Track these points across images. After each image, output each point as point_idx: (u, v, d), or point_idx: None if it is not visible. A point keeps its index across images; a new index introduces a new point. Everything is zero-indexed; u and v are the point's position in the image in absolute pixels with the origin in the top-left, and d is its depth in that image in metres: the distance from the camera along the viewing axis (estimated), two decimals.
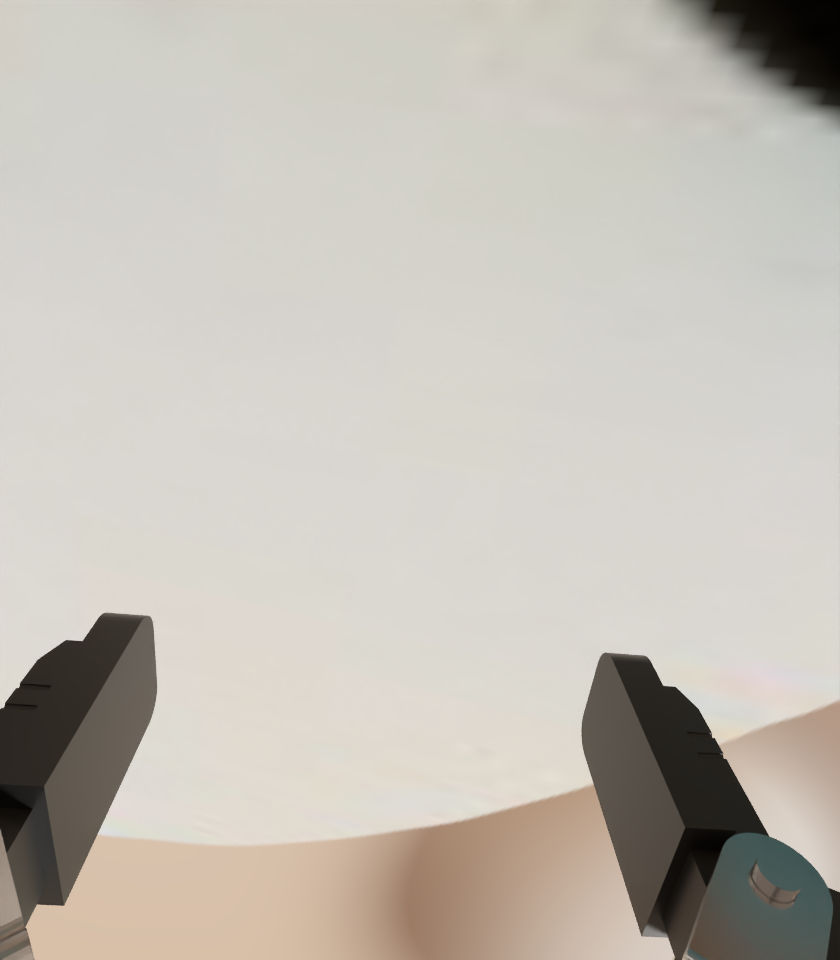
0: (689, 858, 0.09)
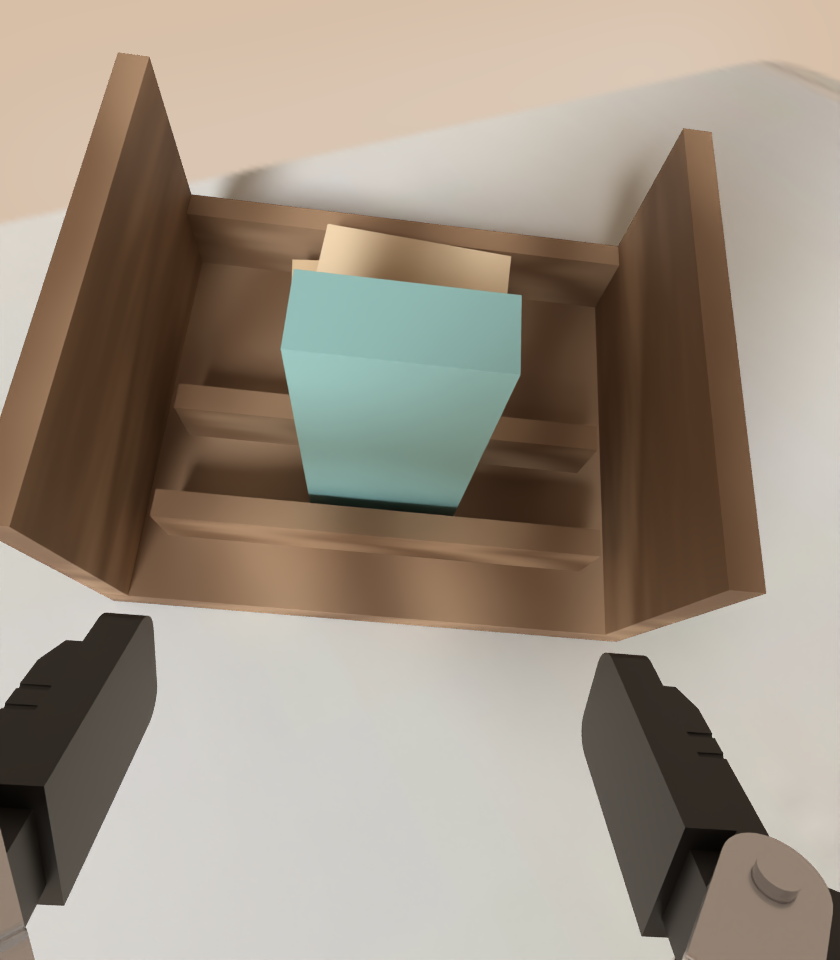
0: (689, 859, 0.09)
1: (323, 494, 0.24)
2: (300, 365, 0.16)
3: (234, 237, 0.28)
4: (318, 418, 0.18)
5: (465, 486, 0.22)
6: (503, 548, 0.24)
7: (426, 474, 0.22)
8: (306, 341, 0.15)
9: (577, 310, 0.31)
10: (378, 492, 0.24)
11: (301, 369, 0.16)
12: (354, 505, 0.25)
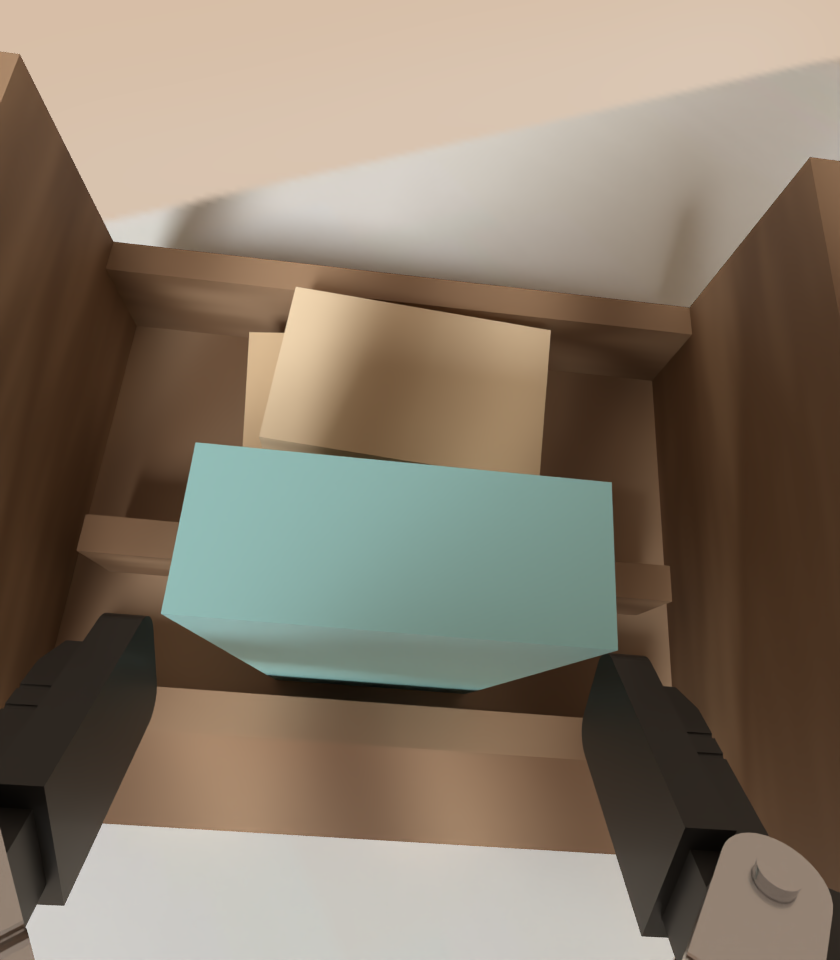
0: (689, 859, 0.09)
1: (287, 676, 0.17)
2: (206, 623, 0.08)
3: (175, 297, 0.21)
4: (259, 649, 0.11)
5: (492, 685, 0.15)
6: (545, 756, 0.17)
7: (435, 678, 0.14)
8: (210, 594, 0.08)
9: (629, 385, 0.23)
10: (364, 679, 0.16)
11: (210, 626, 0.09)
12: (333, 681, 0.18)
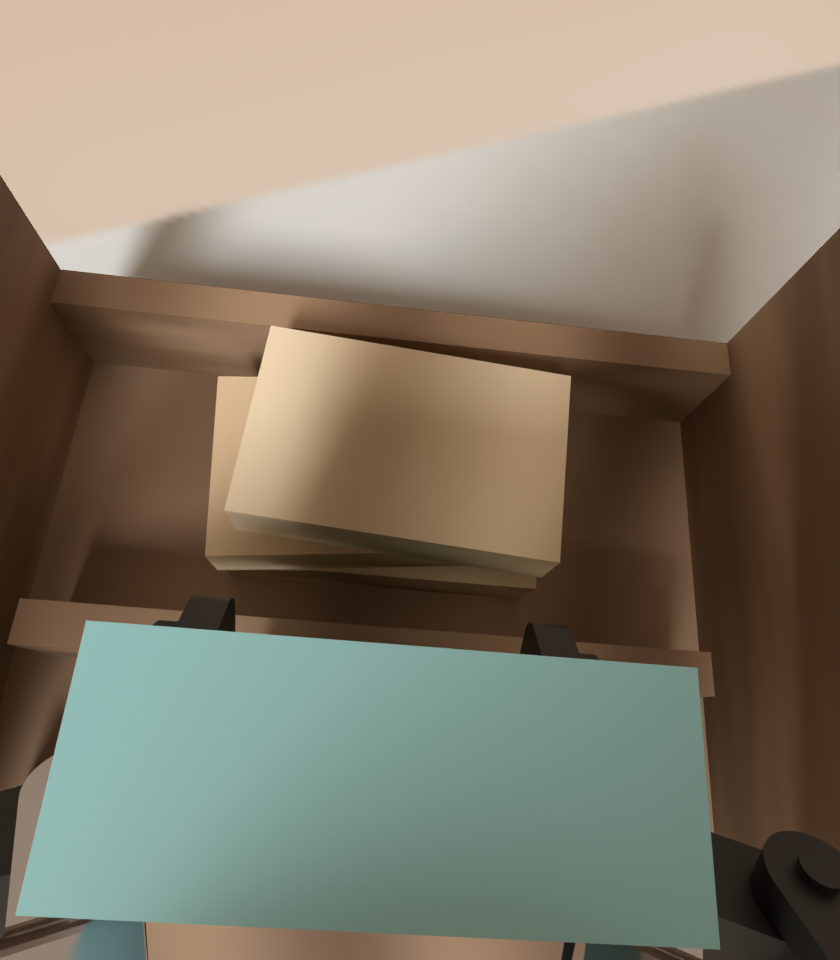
0: None
1: None
2: None
3: (134, 333, 0.18)
4: None
5: None
6: None
7: None
8: (98, 878, 0.05)
9: (654, 427, 0.21)
10: None
11: None
12: None
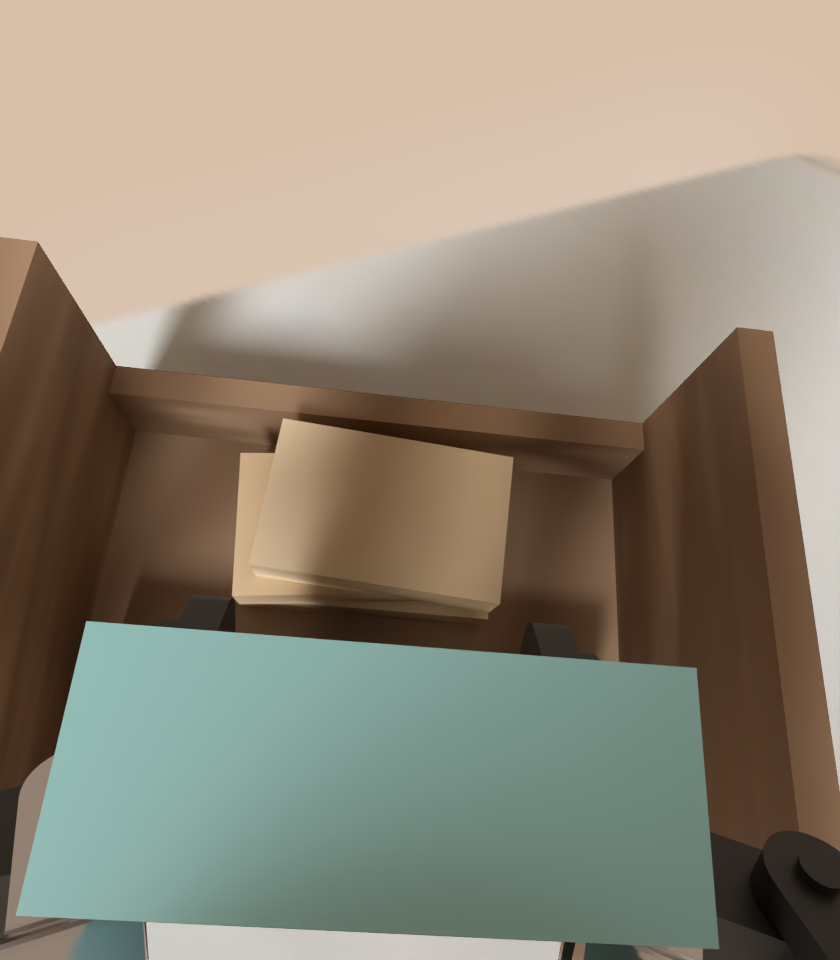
0: None
1: None
2: None
3: (172, 413, 0.23)
4: None
5: None
6: None
7: None
8: (98, 878, 0.05)
9: (590, 484, 0.26)
10: None
11: None
12: None
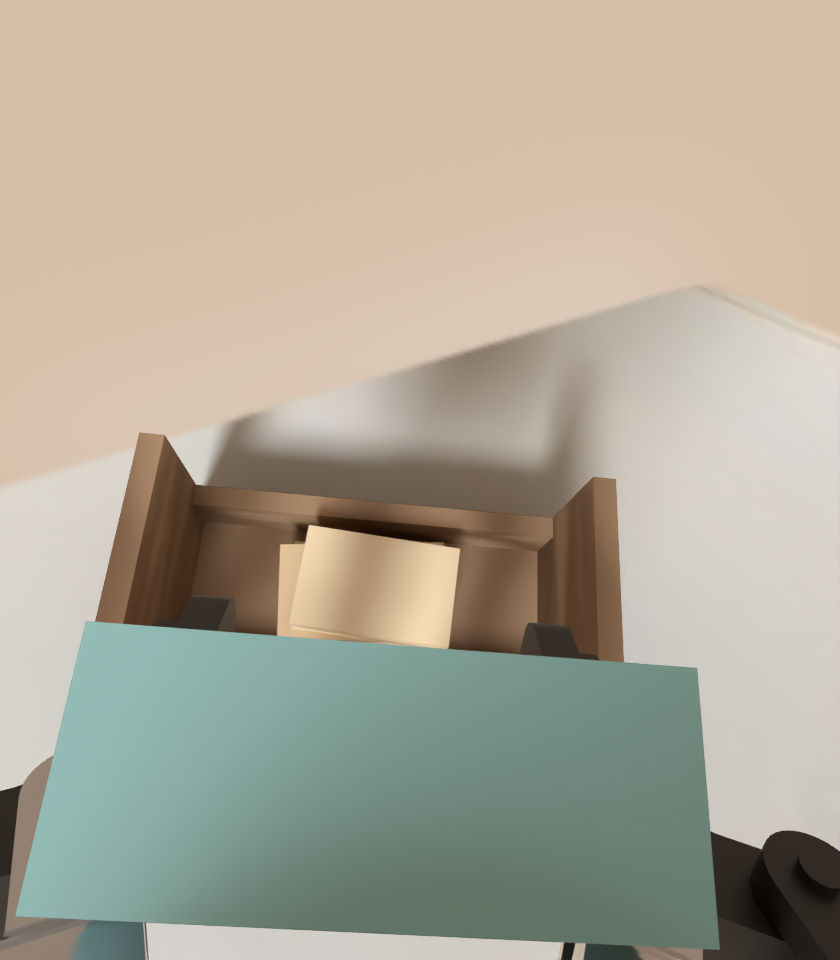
0: None
1: None
2: None
3: (232, 514, 0.34)
4: None
5: None
6: None
7: None
8: (96, 878, 0.05)
9: (521, 555, 0.36)
10: None
11: None
12: None
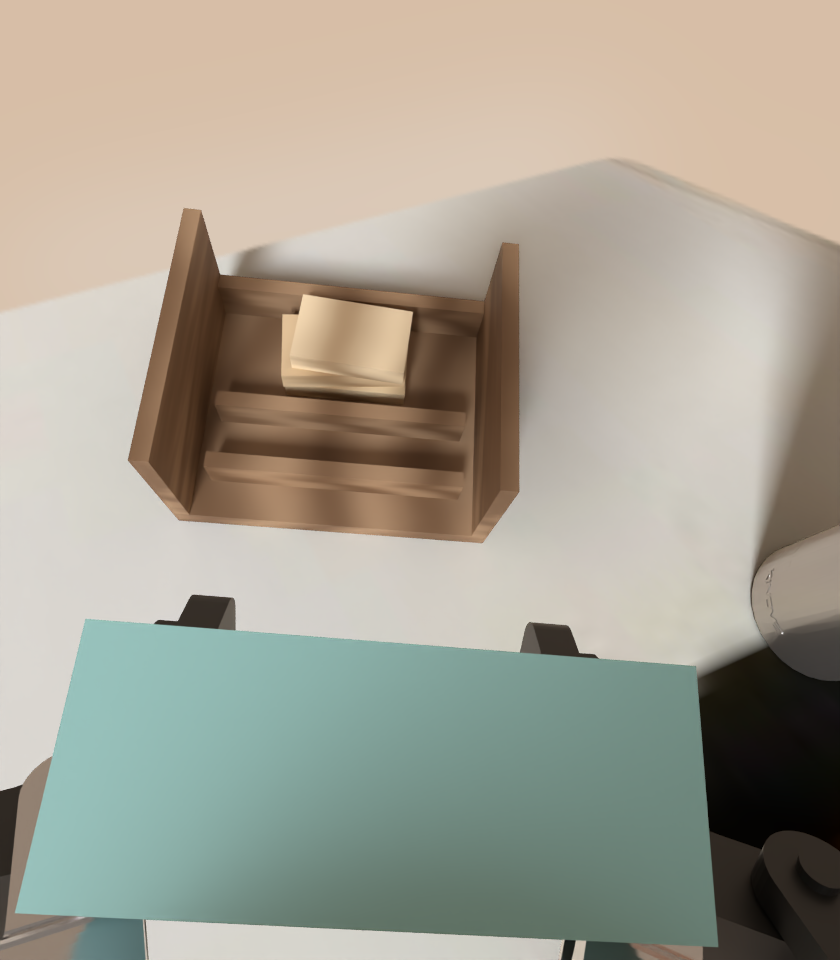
0: None
1: None
2: None
3: (246, 299, 0.45)
4: None
5: None
6: (407, 483, 0.41)
7: None
8: (96, 875, 0.05)
9: (464, 339, 0.48)
10: None
11: None
12: None
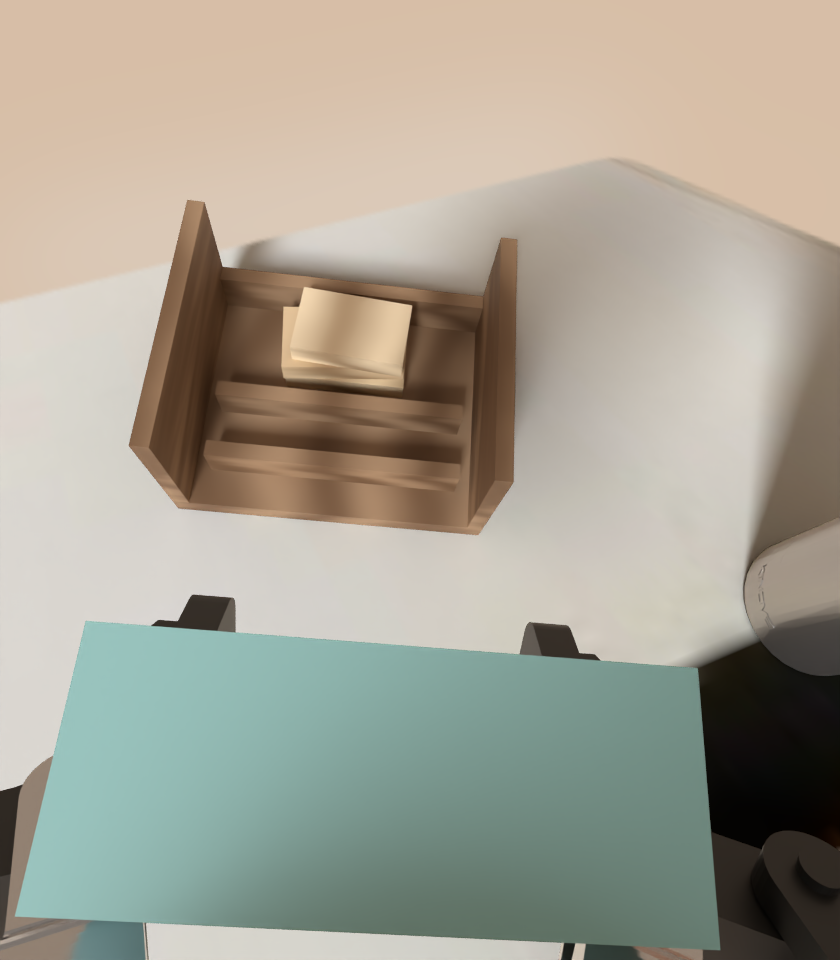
0: None
1: None
2: None
3: (248, 291, 0.46)
4: None
5: None
6: (404, 474, 0.42)
7: None
8: (96, 878, 0.05)
9: (463, 334, 0.49)
10: None
11: None
12: None
